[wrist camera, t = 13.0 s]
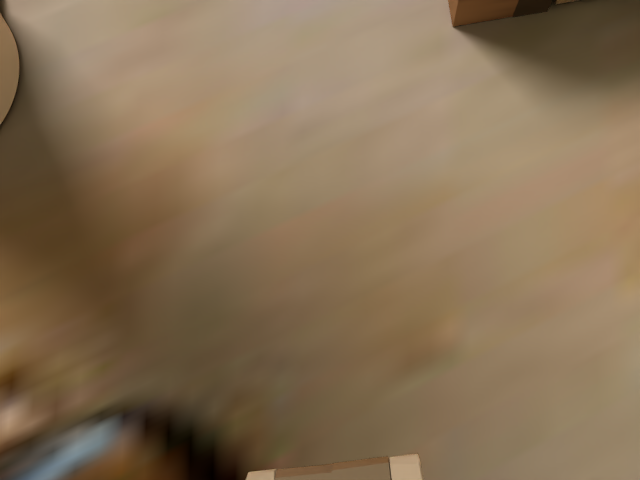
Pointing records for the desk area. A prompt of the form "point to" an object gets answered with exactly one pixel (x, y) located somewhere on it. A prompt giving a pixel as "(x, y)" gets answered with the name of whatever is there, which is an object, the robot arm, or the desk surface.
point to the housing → (493, 9)
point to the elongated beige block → (563, 1)
